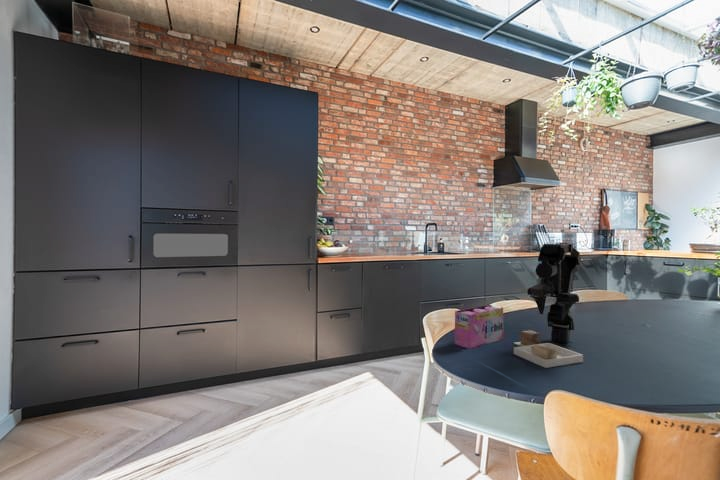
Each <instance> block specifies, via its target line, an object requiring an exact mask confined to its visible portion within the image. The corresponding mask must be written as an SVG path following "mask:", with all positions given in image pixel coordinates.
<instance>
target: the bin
mask: <svg viewBox="0 0 720 480" xmlns="http://www.w3.org/2000/svg"><path fill="white" fill-rule="evenodd" d="M536 345H545V346H548V347H550V348H553V349H556V350H557V358H554V359H548V360H545V359H542V358H540V357H538V356H535V355H533V354H531V346H535V345H528V346H520V345H519V346H514V347H513V355H515V356H518V357H520V358H522V359H524V360H527V361H528V362H531V363H533V364H536V365H539V366H541V367H542V368H545V369H547V368H553V367H560V366H567V365H572V364H580V363H583V362H584V354H582V353H579V352H576V351H573V350H570V349H569V348H568V349H567V348H565V347H561V346H559V345H557V344H554V343H550V342H545V343H540V344H536Z"/></svg>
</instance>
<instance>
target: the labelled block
mask: <svg viewBox="0 0 720 480" xmlns="http://www.w3.org/2000/svg"><path fill="white" fill-rule="evenodd" d="M520 342H521V344H523V345H525V346H528V345H536V344H541V333H540V332H536V331H535V330H520Z"/></svg>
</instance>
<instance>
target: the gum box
mask: <svg viewBox="0 0 720 480" xmlns="http://www.w3.org/2000/svg"><path fill="white" fill-rule="evenodd" d="M504 335H505V334H504V307H500V308H499V307H495V306H493V305H491V304H486V305H485V304H484V305H480V306H476V307H470V308H466V309H465V308H464V309H460V310H455V311H454V345H456V346H459V347H463V348H466V349H468V350H471V349H475V348H477V347H479V346H481V345H487V344H493V343H494V342H495V343H496V342H499V341H501V340H504V339H505V338H504Z"/></svg>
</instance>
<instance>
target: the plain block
mask: <svg viewBox="0 0 720 480" xmlns="http://www.w3.org/2000/svg"><path fill="white" fill-rule="evenodd" d="M531 354H533V355H535V356H538V357H540V358H542V359H545V360H548V359H554V358H557V350H556V349H553V348H550V347H548V346H545V345H535V346H531Z"/></svg>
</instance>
